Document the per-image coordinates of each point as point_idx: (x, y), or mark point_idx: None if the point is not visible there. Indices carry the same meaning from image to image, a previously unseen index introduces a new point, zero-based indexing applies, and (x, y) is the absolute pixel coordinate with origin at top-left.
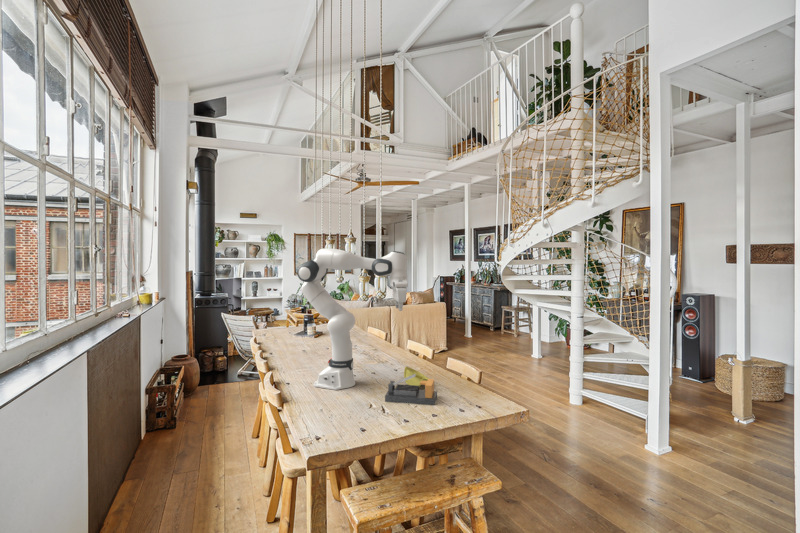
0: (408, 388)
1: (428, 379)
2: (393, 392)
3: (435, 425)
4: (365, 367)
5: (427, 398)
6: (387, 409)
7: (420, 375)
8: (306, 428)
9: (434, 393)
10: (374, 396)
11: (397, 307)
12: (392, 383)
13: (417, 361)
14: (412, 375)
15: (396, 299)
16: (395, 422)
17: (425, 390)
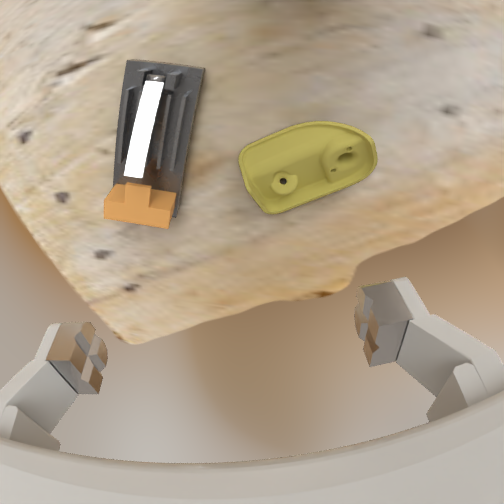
0: None
1: (164, 211)
2: None
3: (20, 199)
4: (482, 24)
5: None
6: (76, 78)
7: (343, 178)
8: None
9: None
10: (178, 20)
11: (364, 310)
12: (154, 83)
13: (497, 190)
14: (132, 167)
15: (18, 476)
16: (13, 115)
17: (109, 193)
